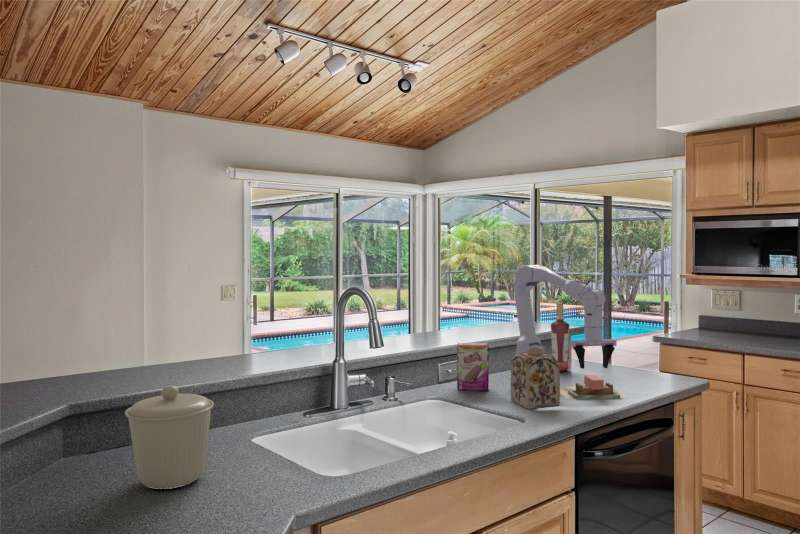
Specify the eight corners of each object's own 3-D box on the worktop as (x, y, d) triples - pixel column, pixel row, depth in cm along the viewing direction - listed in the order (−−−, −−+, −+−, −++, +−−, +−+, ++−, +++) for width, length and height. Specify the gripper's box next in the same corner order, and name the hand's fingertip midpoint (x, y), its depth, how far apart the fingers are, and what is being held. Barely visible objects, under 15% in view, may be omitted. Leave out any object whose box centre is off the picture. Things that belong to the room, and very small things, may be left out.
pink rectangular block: (592, 389, 189) (592, 380, 189) (584, 383, 197) (584, 375, 197) (603, 389, 189) (603, 380, 189) (594, 383, 197) (594, 374, 197)
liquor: (570, 373, 234) (569, 303, 233) (551, 372, 236) (550, 302, 235) (569, 369, 241) (568, 301, 241) (550, 368, 243) (550, 301, 242)
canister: (187, 460, 141) (185, 373, 141) (232, 478, 130) (229, 383, 129) (111, 484, 127) (108, 388, 127) (153, 506, 116) (150, 400, 115)
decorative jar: (560, 406, 185) (560, 349, 184) (527, 410, 182) (527, 352, 181) (541, 397, 196) (541, 344, 196) (510, 400, 193) (509, 346, 193)
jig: (567, 402, 189) (567, 396, 189) (552, 390, 206) (552, 384, 206) (628, 401, 190) (628, 394, 190) (609, 389, 206) (609, 383, 206)
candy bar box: (457, 391, 207) (456, 345, 206) (457, 388, 212) (456, 342, 211) (489, 391, 206) (488, 345, 205) (488, 388, 211) (488, 342, 210)
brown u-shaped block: (579, 397, 191) (579, 385, 191) (575, 394, 195) (575, 383, 195) (613, 396, 191) (613, 385, 191) (608, 393, 195) (608, 382, 195)
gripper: (575, 328, 188) (575, 370, 189) (620, 327, 189) (620, 369, 189) (568, 325, 196) (568, 366, 196) (611, 325, 196) (611, 365, 196)
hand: (593, 367), depth 193 cm, fingers open, 7 cm apart
